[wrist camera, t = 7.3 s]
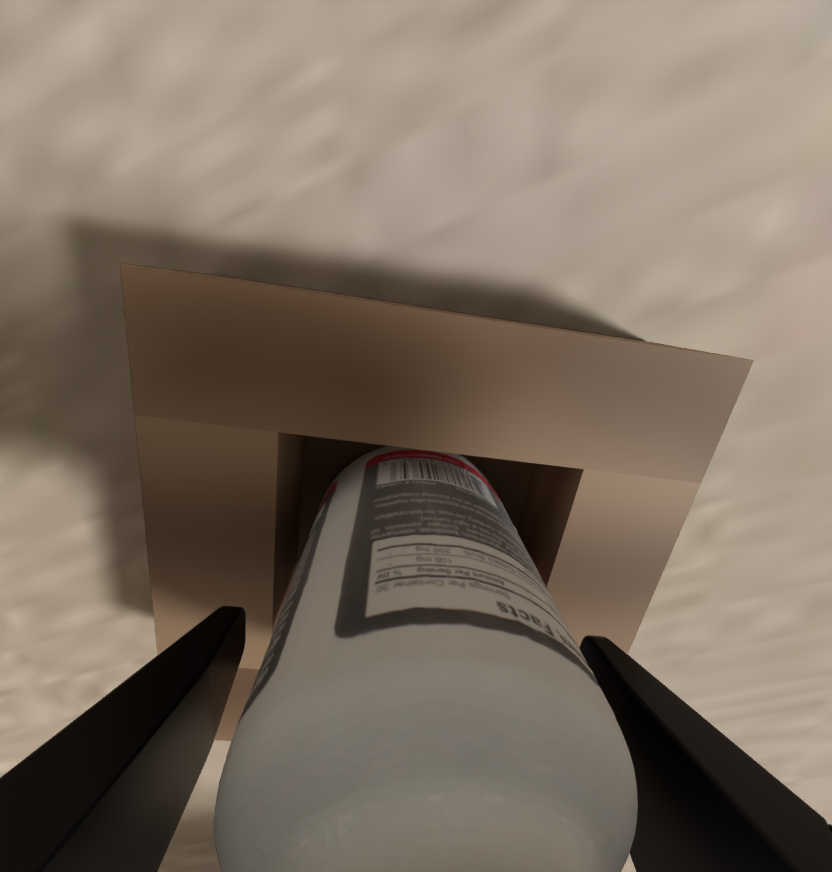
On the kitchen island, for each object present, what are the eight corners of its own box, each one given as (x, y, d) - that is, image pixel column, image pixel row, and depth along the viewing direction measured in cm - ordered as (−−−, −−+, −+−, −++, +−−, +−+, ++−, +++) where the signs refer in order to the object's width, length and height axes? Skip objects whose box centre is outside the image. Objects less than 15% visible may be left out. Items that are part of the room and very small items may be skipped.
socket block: (542, 656, 15) (582, 758, 12) (220, 633, 14) (165, 737, 11) (648, 341, 11) (754, 360, 8) (211, 274, 10) (120, 263, 7)
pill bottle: (402, 623, 13) (414, 1464, 4) (279, 517, 11) (-250, 1490, 2) (535, 527, 12) (1034, 1342, 3) (422, 397, 10) (631, 1220, 1)
